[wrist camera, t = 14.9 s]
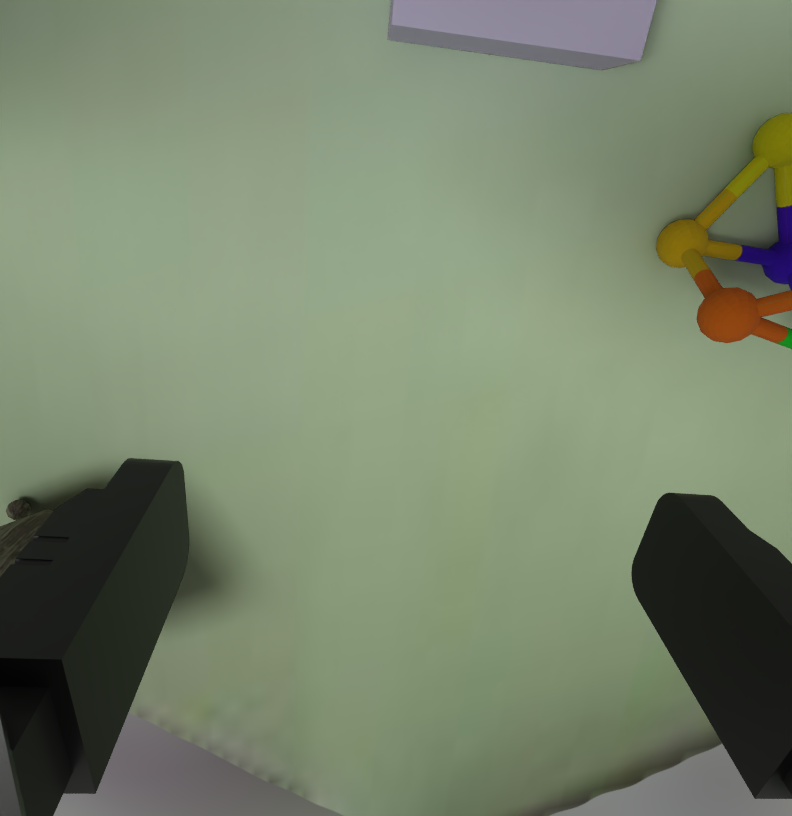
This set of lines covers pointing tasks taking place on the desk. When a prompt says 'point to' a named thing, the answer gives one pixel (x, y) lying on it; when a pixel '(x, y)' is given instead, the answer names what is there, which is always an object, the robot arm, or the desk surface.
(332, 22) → the desk surface
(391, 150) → the desk surface
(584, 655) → the desk surface
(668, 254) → the educational toy
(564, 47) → the socket
